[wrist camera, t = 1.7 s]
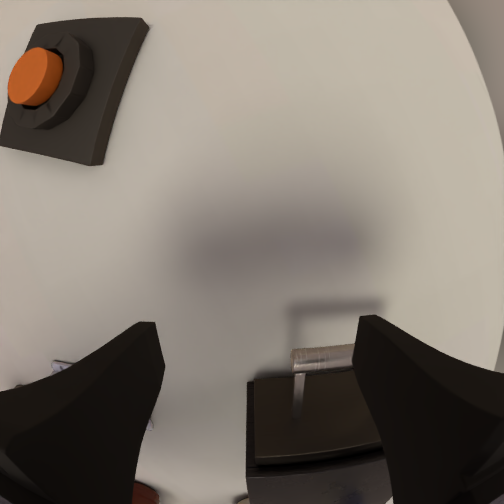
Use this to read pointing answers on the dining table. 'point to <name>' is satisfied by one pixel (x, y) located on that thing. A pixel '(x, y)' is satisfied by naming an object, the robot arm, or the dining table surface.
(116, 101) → the block
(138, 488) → the mug
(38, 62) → the stop button
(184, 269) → the dining table surface
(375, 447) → the dark drawer with handle
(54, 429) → the robot arm
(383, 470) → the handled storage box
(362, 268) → the dining table surface
